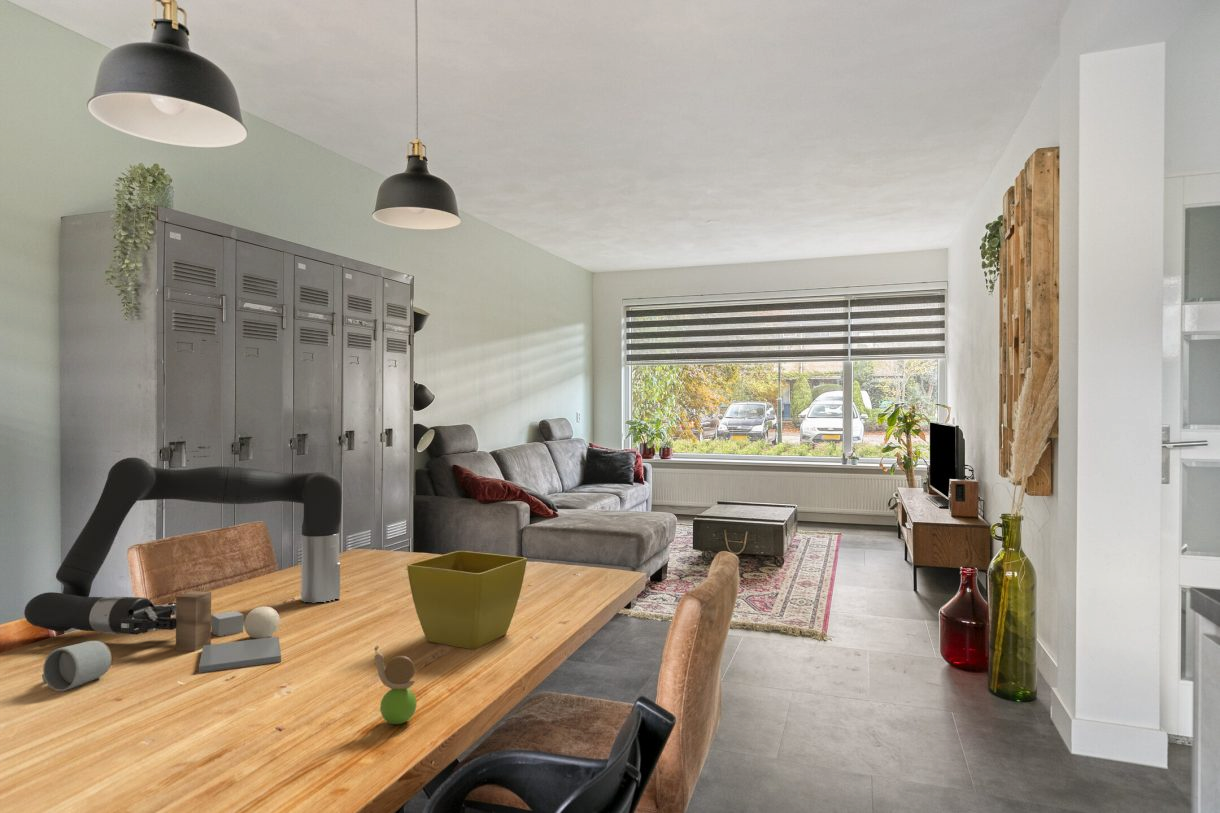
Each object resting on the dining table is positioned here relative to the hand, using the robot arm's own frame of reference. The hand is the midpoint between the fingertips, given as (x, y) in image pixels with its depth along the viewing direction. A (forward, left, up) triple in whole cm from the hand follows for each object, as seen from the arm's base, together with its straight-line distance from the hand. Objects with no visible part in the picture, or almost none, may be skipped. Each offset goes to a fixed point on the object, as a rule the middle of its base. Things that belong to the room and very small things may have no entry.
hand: (190, 618), depth 151 cm
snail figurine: (-32, +58, -6) cm, 66 cm away
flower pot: (-54, +20, -6) cm, 57 cm away
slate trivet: (-10, +12, -6) cm, 16 cm away
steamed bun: (-14, 0, -6) cm, 15 cm away
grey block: (-7, -8, -6) cm, 12 cm away
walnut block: (-1, +1, -6) cm, 6 cm away
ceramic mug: (+17, +15, -6) cm, 24 cm away
